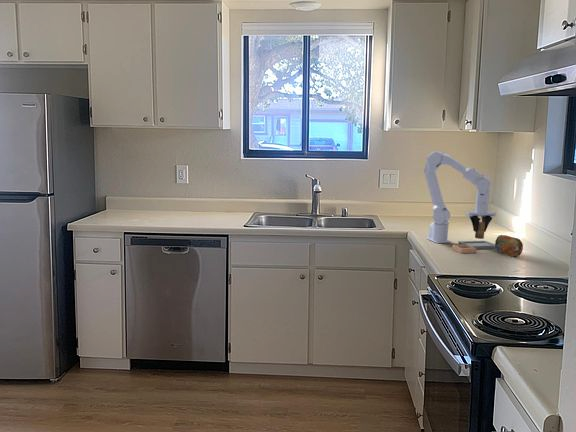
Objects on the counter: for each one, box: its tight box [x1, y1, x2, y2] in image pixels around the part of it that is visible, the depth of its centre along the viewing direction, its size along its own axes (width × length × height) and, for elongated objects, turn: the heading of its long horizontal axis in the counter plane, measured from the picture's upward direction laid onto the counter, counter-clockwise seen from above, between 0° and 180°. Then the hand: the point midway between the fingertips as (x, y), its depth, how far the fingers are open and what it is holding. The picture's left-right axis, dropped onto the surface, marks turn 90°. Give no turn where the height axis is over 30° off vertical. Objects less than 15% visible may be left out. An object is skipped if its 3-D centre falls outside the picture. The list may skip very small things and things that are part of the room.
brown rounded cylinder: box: [474, 221, 485, 240], centre depth 270 cm, size 4×4×8 cm
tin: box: [494, 234, 524, 257], centre depth 256 cm, size 15×3×8 cm, turn 21°
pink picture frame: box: [451, 244, 477, 254], centre depth 260 cm, size 8×8×2 cm
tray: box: [457, 240, 496, 250], centre depth 272 cm, size 11×15×2 cm
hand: (479, 231), depth 271 cm, fingers closed on brown rounded cylinder, 4 cm apart
